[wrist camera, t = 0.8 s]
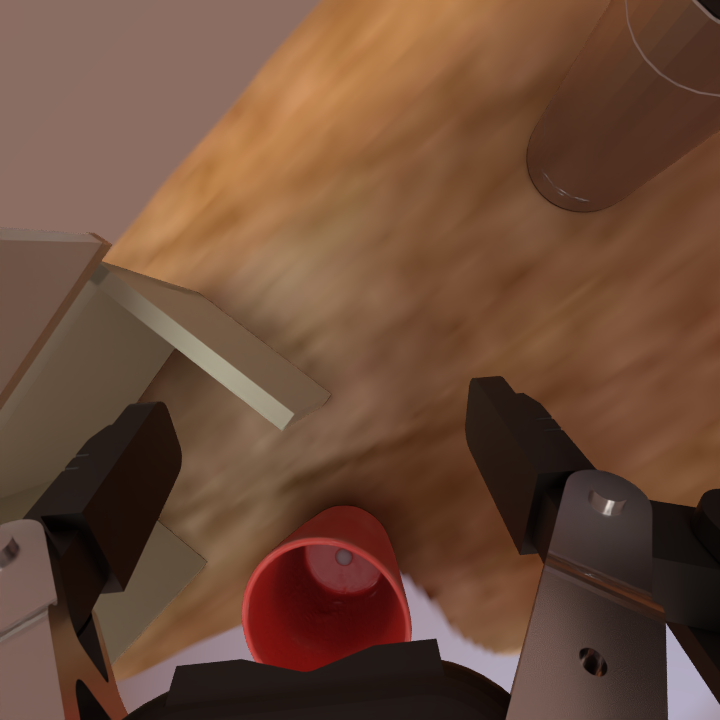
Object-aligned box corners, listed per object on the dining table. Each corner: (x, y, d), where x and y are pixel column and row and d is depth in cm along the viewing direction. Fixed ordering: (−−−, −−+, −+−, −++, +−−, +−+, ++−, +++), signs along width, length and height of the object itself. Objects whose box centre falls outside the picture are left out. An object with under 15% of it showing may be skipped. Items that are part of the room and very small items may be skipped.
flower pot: (321, 632, 34) (290, 740, 25) (264, 518, 35) (211, 581, 25) (430, 581, 33) (443, 673, 24) (370, 465, 34) (358, 508, 24)
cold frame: (198, 292, 35) (94, 259, 23) (331, 394, 34) (294, 414, 22) (75, 468, 36) (-83, 522, 25) (199, 572, 35) (97, 681, 23)
